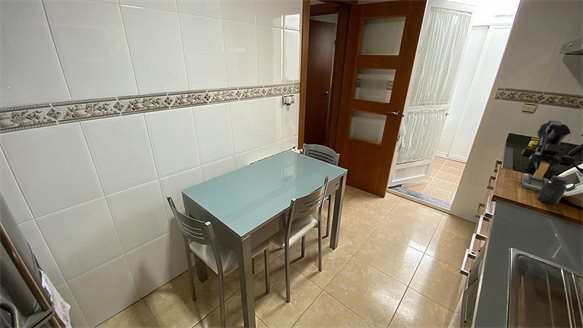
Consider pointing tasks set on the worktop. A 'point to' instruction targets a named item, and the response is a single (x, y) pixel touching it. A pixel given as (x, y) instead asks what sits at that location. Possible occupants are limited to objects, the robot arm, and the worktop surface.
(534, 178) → the handle
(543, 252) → the worktop surface
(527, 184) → the grey rail base
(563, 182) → the supplement bottle
